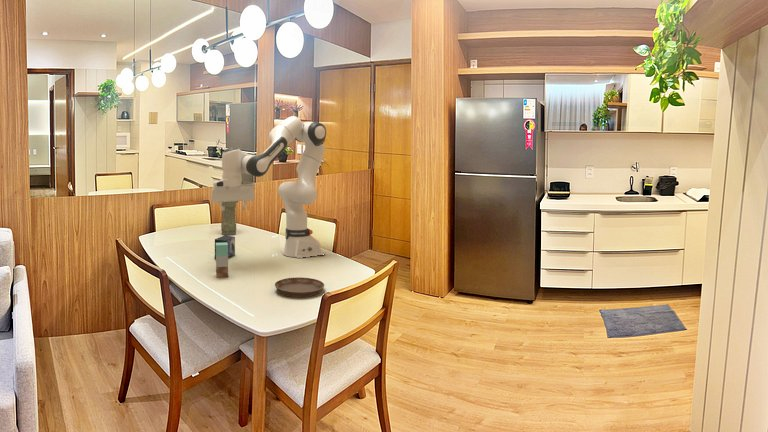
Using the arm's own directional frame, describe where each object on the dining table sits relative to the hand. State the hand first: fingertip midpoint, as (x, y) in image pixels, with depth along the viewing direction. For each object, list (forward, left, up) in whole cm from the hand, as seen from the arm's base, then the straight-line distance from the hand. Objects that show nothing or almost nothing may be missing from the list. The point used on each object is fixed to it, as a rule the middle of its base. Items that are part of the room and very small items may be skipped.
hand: (233, 210), depth 250 cm
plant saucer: (-24, +49, -27) cm, 61 cm away
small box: (+3, -14, -27) cm, 31 cm away
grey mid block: (+6, +20, -22) cm, 30 cm away
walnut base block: (+6, +20, -27) cm, 34 cm away
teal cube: (+6, +20, -17) cm, 27 cm away
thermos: (-2, -72, -27) cm, 77 cm away
